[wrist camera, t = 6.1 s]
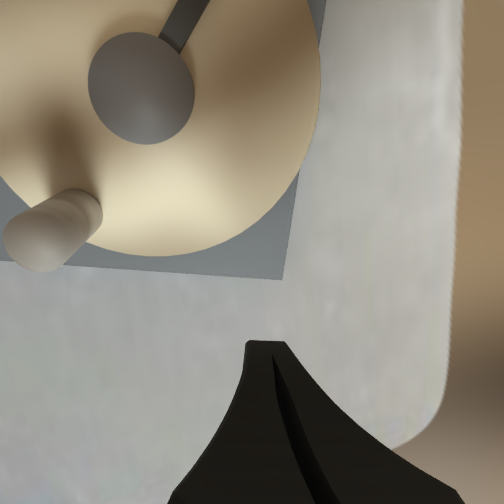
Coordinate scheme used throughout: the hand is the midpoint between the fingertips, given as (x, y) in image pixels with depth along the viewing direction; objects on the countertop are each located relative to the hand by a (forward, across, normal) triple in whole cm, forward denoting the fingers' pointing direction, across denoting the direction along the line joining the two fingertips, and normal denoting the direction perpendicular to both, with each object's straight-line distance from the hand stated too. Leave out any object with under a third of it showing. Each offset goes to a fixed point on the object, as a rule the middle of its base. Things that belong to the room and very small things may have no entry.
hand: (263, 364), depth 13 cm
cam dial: (+6, +5, -8) cm, 11 cm away
